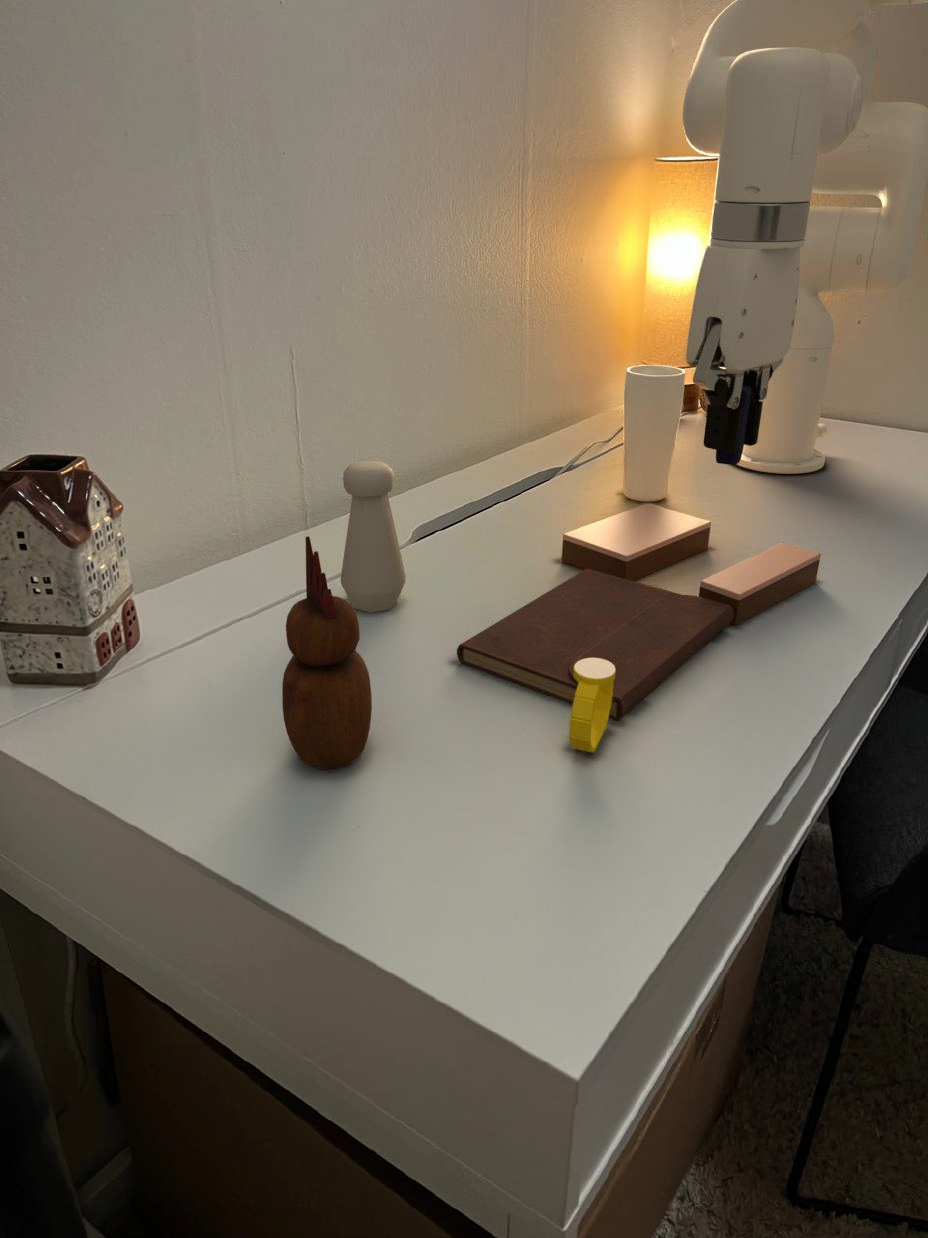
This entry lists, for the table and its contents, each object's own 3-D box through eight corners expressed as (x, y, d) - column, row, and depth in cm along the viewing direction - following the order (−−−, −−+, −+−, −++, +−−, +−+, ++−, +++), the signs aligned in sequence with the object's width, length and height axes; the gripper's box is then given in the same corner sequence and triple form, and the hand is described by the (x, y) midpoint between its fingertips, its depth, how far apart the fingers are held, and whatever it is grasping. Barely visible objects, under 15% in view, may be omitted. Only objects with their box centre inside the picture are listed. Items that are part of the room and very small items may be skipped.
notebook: (456, 660, 74) (456, 638, 74) (582, 582, 88) (584, 563, 88) (621, 722, 66) (624, 698, 65) (732, 625, 80) (735, 605, 79)
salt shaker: (415, 595, 86) (413, 458, 80) (391, 620, 81) (386, 477, 75) (358, 586, 88) (351, 452, 82) (331, 611, 83) (322, 470, 77)
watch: (582, 716, 67) (587, 643, 64) (620, 724, 66) (626, 650, 63) (557, 759, 62) (561, 682, 59) (597, 769, 61) (603, 691, 58)
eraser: (719, 456, 86) (728, 382, 83) (743, 460, 85) (753, 385, 82) (712, 462, 84) (721, 387, 81) (736, 466, 83) (747, 390, 80)
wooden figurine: (292, 727, 65) (274, 528, 59) (374, 724, 66) (365, 526, 59) (283, 784, 59) (262, 569, 53) (373, 780, 60) (363, 566, 53)
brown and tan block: (645, 528, 102) (648, 502, 101) (707, 548, 97) (711, 521, 95) (561, 561, 93) (562, 533, 92) (624, 585, 88) (627, 556, 87)
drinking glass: (669, 488, 115) (682, 365, 108) (675, 506, 109) (689, 376, 102) (614, 486, 115) (624, 363, 109) (617, 504, 109) (627, 375, 103)
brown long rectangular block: (778, 570, 92) (783, 541, 90) (815, 582, 89) (821, 553, 88) (696, 611, 83) (700, 580, 82) (735, 625, 80) (740, 594, 79)
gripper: (768, 218, 83) (741, 421, 91) (661, 229, 73) (642, 455, 81) (848, 222, 78) (812, 436, 86) (746, 234, 68) (716, 475, 76)
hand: (730, 444), depth 84 cm, fingers closed on eraser, 2 cm apart
